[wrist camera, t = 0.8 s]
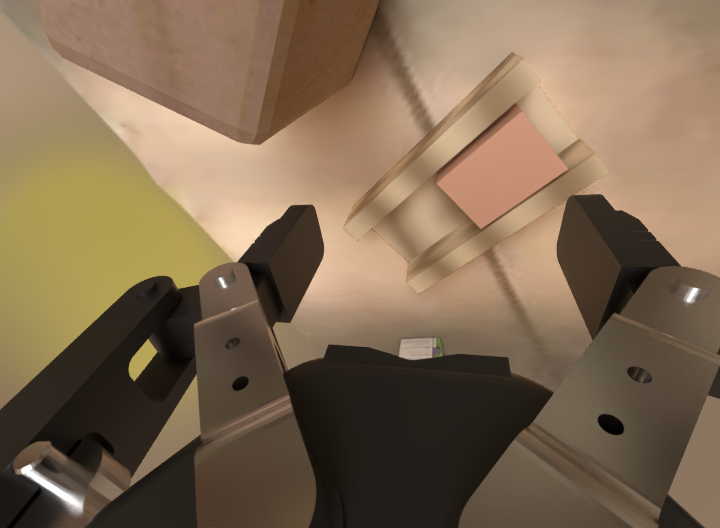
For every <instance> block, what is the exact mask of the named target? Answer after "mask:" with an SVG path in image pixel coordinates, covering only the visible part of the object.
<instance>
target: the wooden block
mask: <svg viewBox="0 0 720 528" xmlns="http://www.w3.org/2000/svg"><path fill="white" fill-rule="evenodd" d="M39 1H40V7H41V13H42V19H43V25H44V31H45V34H46V36H47V38H48V39H49V41H50V43H51V45H52V47H53V49H54V50H55V51H56V52H58V53H59V54H60V55H61V56H62V57H63V58H64V59H67V60H69V61H71V62H73V63H75V64H77V65H79V66H81V67H83V68H85V69H87V70H89V71H91V72H94V73H96V74H98V75H100V76H102V77H104V78H106V79H108V80H110V81H112V82H114V83H116V84H119V85H121V86H123V87H125V88H127V89H129V90H131V91H133V92H135V93H137V94H139V95H141V96H143V97H146V98H148V99H150V100H152V101H154V102H156V103H158V104H160V105H162V106H164V107H166V108H168V109H170V110H173V111H175V112H177V113H179V114H181V115H183V116H185V117H187V118H189V119H191V120H193V121H195V122H198V123H200V124H202V125H204V126H206V127H208V128H210V129H212V130H214V131H216V132H218V133H220V134H222V135H225V136H227V137H229V138H231V139H233V140H235V141H237V142H240V143H245V144H256V145H260V144H261V143H263V142H264V141H266V140H267V139H269V138H270V137H271V136H273V135H274V134H276V133H277V132H279V131H280V130H282V129H283V128H284V127H286V126H287V125H289V124H290V123H292V122H293V121H295V120H296V119H297V118H299V117H300V116H302V115H303V114H305V113H306V112H308V111H309V110H311V109H312V108H313V107H315V106H316V105H318V104H319V103H321V102H322V101H324V100H325V99H326V98H328V97H329V96H331V95H332V94H334V93H335V92H337V91H338V90H339V89H341V88H342V87H344V86H345V85H347V83H348V82H349V81H350V80H351V79H352V77H353V75H354V72H355V69H356V66H357V63H358V60H359V58H360V55H361V52H362V49H363V46H364V44H365V41H366V38H367V35H368V32H369V30H370V27H371V24H372V21H373V18H374V15H375V13H376V10H377V7H378V4H379V1H380V0H39Z"/></svg>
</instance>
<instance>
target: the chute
mask: <svg viewBox="0 0 720 528" xmlns="http://www.w3.org/2000/svg"><path fill="white" fill-rule="evenodd" d="M540 81H541V80H540V79H539V77H538V76H537V75H536V73H535V72H534V71H533V69H532V68H531V67H530V65H529V64H528V63H527V61H526V60H525V59H524V58H523V57H521V56H519V55H516V54H514V53H511V54H510V55H509V56H508V57H507V58H506V59H505V60H504V61H503V62H502V63H501V64H500V65H499V66H498V67H497V68H496V69H494V70H493V71H492V72H491V73H490V74H489V75H488V76H487V77H486V78H485V79H484V80H483V81H482V82H481V83H480V84H479V85H478V86H477V87H476V88H475V89H474V90H473V91H472V92H471V93H470V94H469V95H468V96H467V97H466V98H464V99H463V100H462V101H461V102H460V103H459V104H458V105H457V106H456V107H455V108H454V109H453V110H452V111H451V112H450V113H449V114H448V115H447V116H446V117H445V118H444V119H443V120H442V121H441V122H440V123H439V124H438V125H437V126H436V127H435V128H433V129H432V130H431V131H430V132H429V133H428V134H427V135H426V136H425V137H424V138H423V139H422V140H421V141H420V142H419V143H418V144H417V145H416V146H415V147H414V148H413V149H412V150H411V151H410V152H409V153H408V154H407V155H406V156H405V157H403V158H402V159H401V160H400V161H399V162H398V163H397V164H396V165H395V166H394V167H393V168H392V169H391V170H390V171H389V172H388V173H387V174H386V175H385V176H384V177H383V178H382V179H381V180H380V181H379V182H378V183H377V184H376V185H375V186H373V187H372V188H371V189H370V190H369V191H368V192H367V193H366V194H365V195H364V196H363V197H362V198H361V199H360V200H359V201H358V202H357V203H356V204H355V205H354V206H353V207H352V210H351V212H350V214H349V216H348V218H347V220H346V222H345V224H344V227H343V229H344V230H346V231H347V232H348V233H349V234H350V235H351V236H352V237H354V238H355V239H356V240H357V241H358V240H359V239H360V238H361V237H362V236H363V235H364V234H366V233H367V232H368V231H369V230H370V229H373V230H374V231H375V232H376V233H377V234H378V235H379V236H380V237H381V238H383V239H384V240H385V241H386V242H387V243H388V244H389V245H390V246H391V247H393V248H394V249H395V250H396V251H397V252H398V253H399V254H400V255H401V256H403V257H404V258H405V259H406V260H407V261H408V262H409V264H408V271H407V278H406V284H407V285H409V286H410V287H411V288H412V289H413V290H414V291H415V292H417V293H418V294H419V293H421V292H423V291H424V290H426V289H427V288H429V287H430V286H432V285H433V284H435V283H437V282H438V281H440V280H441V279H443V278H444V277H446V276H448V275H449V274H451V273H452V272H454V271H455V270H457V269H458V268H460V267H462V266H463V265H465V264H466V263H468V262H469V261H471V260H473V259H474V258H476V257H477V256H479V255H480V254H482V253H483V252H485V251H487V250H488V249H490V248H491V247H493V246H494V245H496V244H498V243H499V242H501V241H502V240H504V239H505V238H507V237H509V236H510V235H512V234H513V233H515V232H516V231H518V230H519V229H521V228H523V227H524V226H526V225H527V224H529V223H530V222H532V221H534V220H535V219H537V218H538V217H540V216H541V215H543V214H544V213H546V212H548V211H549V210H551V209H552V208H554V207H555V206H557V205H559V204H560V203H562V202H563V201H565V200H566V199H568V198H569V197H570V196H571V195H574V194H576V193H577V192H579V191H580V190H582V189H584V188H585V187H587V186H588V185H590V184H591V183H593V182H594V181H596V180H598V179H599V178H601V177H602V176H604V175H605V174H607V173H609V172H610V171H609V170H608V169H607V167H606V166H605V165H604V163H603V162H602V161H601V159H600V158H599V157H598V155H597V154H596V153H595V152H594V151H593V150H592V149H590V148H589V147H588V146H587V145H586V144H585V143H584V142H582V141H581V140H580V139H579V138H578V137H577V135H576V134H575V133H574V131H573V130H572V129H571V127H570V126H569V125H568V123H567V122H566V121H565V119H564V118H563V117H562V116H561V114H560V113H559V112H558V110H557V109H556V108H555V106H554V105H553V104H552V102H551V101H550V100H549V98H548V97H547V96H546V95H545V93H544V92H543V91H542V89H541V88H540V87H539V85H538V83H539V82H540ZM515 103H516V105H517V106H518V107H519V108H520V109H521V110H522V112H523V113H524V114H525V115H526V117H527V118H528V119H529V120H530V122H531V123H532V124H533V125H534V127H535V128H536V129H537V130H538V132H539V133H540V134H541V135H542V137H543V138H544V139H545V140H546V142H547V143H548V144H549V145H550V147H551V148H552V149H553V150H554V152H555V153H556V154H557V155H558V157H559V158H560V159H561V160H562V162H563V163H564V164H565V165H566V167H567V168H568V170H566V171H565V172H563V173H562V174H560V175H559V176H558V177H556V178H555V179H553V180H552V181H550V182H549V183H547V184H546V185H544V186H543V187H542V188H540V189H539V190H537V191H536V192H534V193H533V194H531V195H530V196H528V197H527V198H526V199H524V200H523V201H521V202H520V203H518V204H517V205H515V206H514V207H512V208H511V209H510V210H508V211H507V212H505V213H504V214H502V215H501V216H499V217H498V218H496V219H495V220H494V221H492V222H491V223H489V224H488V225H486V226H485V227H483V228H482V229H480V228H479V227H478V226H477V225H476V224H475V223H474V221H473V220H472V219H471V218H470V217H469V216H468V215H467V214H466V213H465V212H464V211H463V210H462V209H461V208H460V207H459V206H458V205H457V204H456V203H455V202H454V201H453V200H452V199H451V198H450V197H449V196H448V195H447V194H446V193H445V192H444V191H443V190H442V189H441V188H440V187H439V185H438V184H437V171H438V170H439V169H440V168H441V167H443V166H444V165H445V164H446V163H447V162H448V161H449V160H451V159H452V158H453V157H454V156H455V155H456V154H457V153H459V152H460V151H461V150H462V149H463V148H464V147H465V146H467V145H468V144H469V143H470V142H471V141H472V140H474V139H475V138H476V137H477V136H478V135H479V134H480V133H482V132H483V131H484V130H485V129H486V128H487V127H488V126H490V125H491V124H492V123H493V122H494V121H495V120H496V119H498V118H499V117H500V116H501V115H502V114H503V113H505V112H506V111H507V110H508V109H509V108H510V107H511V106H513V105H514V104H515Z"/></svg>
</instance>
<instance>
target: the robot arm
mask: <svg viewBox="0 0 720 528" xmlns="http://www.w3.org/2000/svg"><path fill="white" fill-rule="evenodd" d="M323 255H324V243H323V239H322V234H321V230H320V226H319V222H318V218H317V214H316V210H315V208H314V206H313V205H291V206H290V207H289V208H288V210H287V211H286V212H285V213H284V215H283V216H282V217H281V218H280V219H278V220H276V221H275V222H273V223H272V224H270V225H269V226H267V227H266V228H265V230H264V231H263V232H262V233H261V234H260V236H259V237H258V238H257V239H256V240H255V243H253V244H252V245H251V246H250V247H249V249H248V250H247V251H246V252H245V253H244V255H243V256H242V257H241V258H240V259H239V261H238V262H233V263H227V264H223V265H220V266H218V267H216V268H214V269H212V270H211V271H209V272H207V273H206V274H205V275H204V276H203V277H202V278H201V280H200V282H199V285H196V286H191V287H186V288H181V289H178V288H177V287H176V285H175V283H174V282H173V280H172V279H171V278H170V277H168V276H157V277H152V278H149V279H146V280H144V281H142V282H140V283H138V284H136V285H134V286H133V287H131V288H130V289H129V290H128V291H126V292H125V293H124V294H123V295H122V296H121V297H120V298H119V299H118V300H117V301H116V302H115V303H114V304H113V305H112V306H111V307H109V308H108V309H107V310H106V311H105V312H104V313H103V314H102V315H101V316H100V317H99V318H98V319H97V320H96V321H94V323H92V324H91V325H90V326H89V327H88V328H87V329H86V330H85V331H84V332H83V333H82V334H81V335H80V336H79V337H78V338H76V339H75V340H74V341H73V342H72V343H71V344H70V345H69V346H68V347H67V348H66V349H65V350H64V351H63V352H61V354H59V355H58V356H57V357H56V358H55V359H54V360H53V361H52V362H51V363H50V364H49V365H48V366H46V367H45V368H44V369H43V370H42V371H41V372H40V373H39V374H38V375H37V376H36V377H35V378H34V379H33V380H32V381H31V382H29V383H28V384H27V385H26V386H25V387H24V388H23V389H22V390H21V391H20V392H19V393H18V394H17V395H16V396H14V398H12V399H11V400H10V401H9V402H8V403H7V404H6V405H5V406H4V407H3V408H2V409H1V410H0V528H704V527H703V526H702V525H701V524H700V523H699V522H698V521H696V519H695V518H693V517H692V516H691V515H690V514H689V513H688V512H687V511H686V510H685V509H684V508H683V507H681V506H680V505H679V504H678V503H677V502H676V501H675V500H674V499H673V498H672V497H670V496H669V495H668V491H669V489H670V486H671V484H672V482H673V479H674V476H675V474H676V471H677V469H678V467H679V464H680V462H681V459H682V457H683V454H684V452H685V449H686V447H687V444H688V442H689V440H690V437H691V435H692V432H693V430H694V427H695V424H696V422H697V420H698V417H699V415H700V412H701V410H702V407H703V405H704V403H705V400H706V398H707V395H709V396H712V397H716V398H719V399H720V278H719V277H717V276H715V275H712V274H710V273H707V272H704V271H701V270H697V269H693V268H688V267H681V265H680V264H679V263H678V262H677V261H676V260H675V259H674V258H673V257H672V256H671V254H670V253H669V252H668V251H667V250H666V249H665V248H664V247H663V246H662V245H661V243H660V242H659V241H656V238H655V237H654V236H653V235H652V233H651V232H648V229H647V228H646V227H645V226H644V225H643V224H642V222H641V221H640V220H639V219H637V218H635V217H633V216H631V215H629V214H628V213H626V212H624V211H622V210H621V211H615V210H614V208H613V207H612V206H611V205H610V204H609V202H608V201H607V200H606V199H605V198H604V196H603V195H601V194H593V195H571V196H570V197H569V198H568V200H567V203H566V207H565V211H564V215H563V220H562V224H561V228H560V232H559V237H558V241H557V258H558V262H559V264H560V266H561V269H562V271H563V273H564V275H565V278H566V280H567V282H568V285H569V287H570V289H571V292H572V294H573V296H574V298H575V301H576V303H577V305H578V308H579V310H580V312H581V314H582V317H583V319H584V321H585V324H586V326H587V328H588V330H589V333H590V335H591V337H592V340H593V341H592V343H591V344H590V345H589V347H588V348H587V349H586V351H585V352H584V353H583V355H582V356H581V358H580V359H579V360H578V362H577V363H576V364H575V366H574V367H573V368H572V370H571V371H570V372H569V374H568V375H567V376H566V378H565V379H564V380H563V382H562V383H561V385H560V386H559V387H558V389H557V390H556V391H555V393H554V392H552V391H550V390H549V389H547V388H546V387H544V386H542V385H540V384H538V383H536V382H534V381H532V380H530V379H528V378H525V377H523V376H520V375H517V374H514V373H511V372H510V366H509V360H508V357H495V356H481V355H467V354H455V355H448V356H440V357H433V358H426V359H418V360H409V359H405V358H402V357H399V356H395V355H392V354H389V353H385V352H382V351H379V350H375V349H372V348H369V347H356V346H342V345H328V348H327V350H326V353H325V356H324V358H318V359H315V360H311V361H308V362H305V363H302V364H300V365H298V366H295V367H294V368H291V369H290V370H288V368H287V365H286V362H285V360H284V357H283V354H282V352H281V348H280V346H279V343H278V340H277V337H276V335H275V332H274V329H273V326H274V324H275V323H276V322H285V323H290V322H291V320H292V318H293V316H294V314H295V312H296V310H297V308H298V306H299V304H300V302H301V300H302V298H303V296H304V294H305V292H306V291H307V289H308V287H309V285H310V283H311V281H312V279H313V277H314V275H315V273H316V271H317V269H318V267H319V265H320V263H321V261H322V259H323ZM147 339H149V341H150V342H151V343H152V345H153V346H154V348H155V349H156V350H157V353H156V355H155V356H154V357H153V359H152V360H151V361H150V363H149V364H148V365H147V366H146V368H145V369H144V370H143V371H142V373H141V374H140V375H139V377H138V378H137V379H136V380H135V382H134V381H133V380H132V378H131V377H130V375H129V371H128V368H129V363H130V361H131V359H132V357H133V356H134V355H135V353H136V352H137V351H138V350H139V349H140V348H141V346H142V345H143V344H144V343H145V342H146V341H147ZM196 374H197V385H198V400H199V415H200V431H201V435H199V436H198V437H197V438H195V439H194V440H193V441H191V442H190V443H189V444H188V445H186V446H185V447H183V448H182V449H181V450H179V451H178V452H177V453H175V454H174V455H173V456H171V457H170V458H169V459H167V460H166V461H165V462H163V463H162V464H161V465H159V466H158V467H157V468H155V469H154V470H153V471H151V472H150V473H149V474H147V475H146V476H145V477H143V478H142V479H141V480H139V481H138V482H136V483H135V484H134V485H132V486H131V487H130V483H131V478H132V476H133V475H134V473H135V472H136V470H137V468H138V467H139V465H140V464H141V462H142V460H143V459H144V457H145V456H146V454H147V452H148V451H149V449H150V448H151V446H152V444H153V443H154V441H155V440H156V438H157V436H158V435H159V433H160V432H161V430H162V428H163V427H164V425H165V424H166V422H167V420H168V419H169V417H170V416H171V414H172V413H173V411H174V409H175V408H176V406H177V404H178V403H179V401H180V400H181V398H182V396H183V395H184V393H185V391H186V390H187V389H188V387H189V385H190V384H191V382H192V380H193V379H194V377H195V376H196Z"/></svg>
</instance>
